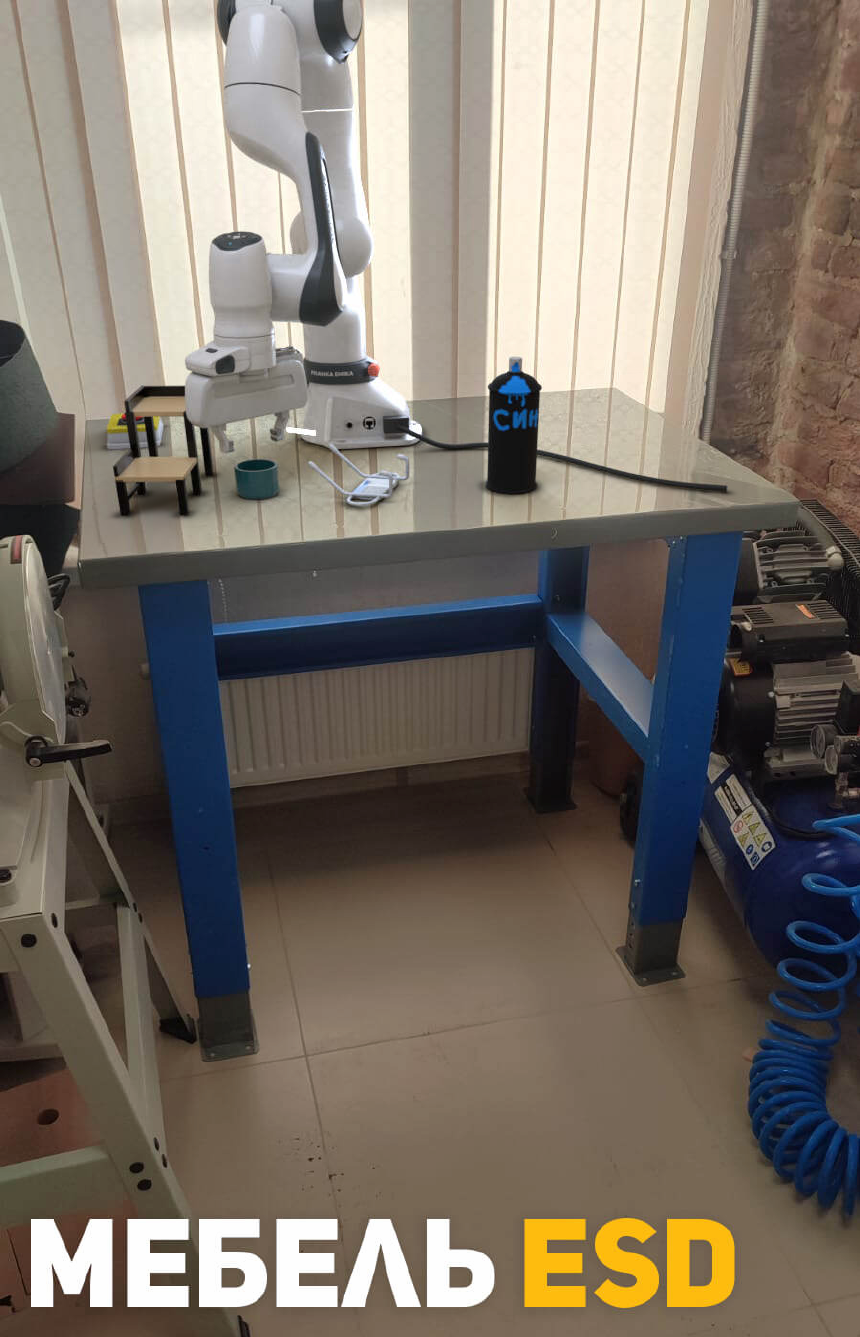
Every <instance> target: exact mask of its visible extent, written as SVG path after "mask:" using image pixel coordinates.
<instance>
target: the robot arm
mask: <svg viewBox="0 0 860 1337" xmlns="http://www.w3.org/2000/svg"><path fill="white" fill-rule="evenodd" d="M362 6H363V5H362V1H361V0H217V5H216V23H217V27H218V32H219V35H220V38H221V41H222V42H223V44H224V46H225V55H224V67H223V68H224V69H223V116H224V123H225V128H226V131H227V134H228V137H229V138H230V139H231V140H230V141H232V143H233V144H234V145H235V147H236V148H237V149H238V150H239V151H240V152H241V153H243V155H245V156H246V157H248V158H249V159H251V160H252V161H254V162H256V163H258V164H260V165H262V166H264V167H266V168H269V169H271V170H274V171H276V172H278V173H279V174H281V175H283V176H286V177H287V178H289V179H290V180H291V181H292V182H293V183H294V185H295V187H296V192H297V197H298V203H299V207H300V211H299V212H297V214H296V215H295V216H294V218H293V220H292V222H291V224H290V228H289V242H290V247H291V253H271V252H267V248H266V243H265V240H264V238H263V237H262V236H261V235H260V234H258V233H255V232H253V231H241V230H240V231H231V232H225V233H222V234H219V235H217V236H216V237H215V238H213V239H212V240H211V242H210V245H209V255H208V287H209V290H208V291H209V299H210V305H211V308H212V311H213V314H214V315H213V316H214V324H213V330H212V333H213V339H212V340H211V341H209V342H208V343H206V344H204V345H202V346H201V347H200V348H198V349H195V350H194V351H193V352H192V351H191V353H189V354H187V355H186V356H185V358H184V364H185V369H186V370H187V371H190V373H189V374H188V375H187V376H186V379H185V383H184V386H185V405H186V415H187V418H188V420H189V421H190V422H191V423H192V424H193V425H194V427H198V428H200V427H201V428H209V429H210V431H211V432H212V434H213V435H214V437H215V438H216V439H217V441H218V444H219V445H218V447H219V451H220V453H223V454H229V453H233V452H235V447H234V446H235V442H234V441H235V440H232V439H230V438H228V437H227V436H226V433H225V432H227V431H228V430H227V424H232V423H237V422H242V421H245V420H251V419H255V418H260V417H265V416H270V415H274V417H276V420H275V422H274V425H273V427H271V428H269V434H270V435H269V438H270V440H271V441H273V442H281V441H284V440H285V429H286V432H287V433H293V434H294V433H295V434H300V438H302V439H303V440H304V441H306V442H308V443H311V444H316V445H321V446H323V447H325V448H328V449H330V448H329V445H330V444H332V445H333V446H335V447H336V448H337V449H338V450H345V449H346V450H347V449H349V450H350V449H363V448H365V449H366V448H379V447H382V448H383V447H397V446H410V445H411V446H412V445H415V444H416V443H418V442H419V441H422V442H423V443H425V444H428V445H429V446H432V447H435V448H437V449H438V448H439V449H445V450H467V449H478V448H480V449H481V448H483V449H485V448H486V449H488V442H486V441H485V442H482V441H481V442H469V443H456V444H455V443H443V442H439V441H436V440H433V439H431V438H430V437H429V438H428V437H426V436H424V435H423V428H422V425H421V424H420V423H419V422H417V421H415V420H412V419H411V412H410V409H409V406H408V403H407V401H406V399H405V397H404V396H402V395H401V394H400V393H399V392H398V391H396V390H395V389H393V388H392V387H391V386H390V385H388V384H387V383H386V382H384V381H383V380H381V378H379V374H380V366H379V362H378V361H377V360H378V359H376V358H374V359H373V358H372V357H370V356H368V355H367V340H366V339H367V336H366V312H365V307H364V304H363V301H362V297H361V292H360V287H359V286H360V285H359V281H358V276H359V275H360V274H362V273H363V272H364V271H365V270H366V269H367V268H368V267H369V266H370V263H371V262H372V259H373V256H374V252H375V243H374V237H373V234H372V231H371V227H370V225H369V218H368V211H367V205H366V200H365V194H364V190H363V185H362V179H361V175H360V168H359V160H358V148H357V146H358V145H357V134H356V118H355V117H356V113H355V104H354V101H355V100H354V93H353V92H354V90H353V85H352V84H353V83H352V78H351V71H350V67H349V61H348V58H349V55H350V54H351V53H352V52H353V51H354V49H355V47H356V46H357V44H358V42H359V40H360V37H361V35H362V30H363V29H362V28H363V7H362ZM273 322H274V323H297V324H299V323H300V324H302V334H303V348H304V355H303V353H302V352H301V351H300V350H299V349H298V348H296V347H295V346H293V345H289V346H286V347H276V334H275V333H276V332H275V326H274V324H273ZM303 408H305V409H304V419H303V425H302V428H295V427H289V426H288V427H287V425H288V423H289V420H290V416H291V415H290V411H293V410H299V409H303ZM537 456H541V457H545V458H550V459H554V460H558V461H561V462H565V463H569V464H573V465H577V466H581V467H583V468H587V469H591V470H593V471H598V472H602V473H605V474H606V473H607V474H610V475H613V476H617V477H620V478H625V479H628V480H629V479H630V480H634V481H639V482H643V483H647V484H648V483H649V484H654V485H660V486H666V487H673V488H680V489H690V490H701V491H702V490H703V491H716V492H728V485H726V484H725V485H723V484H710V483H699V482H688V481H687V482H686V481H678V480H671V479H665V478H657V477H652V476H648V475H642V474H637V473H632V472H628V471H624V470H619V469H615V468H611V467H608V466H606V465H605V466H604V465H602V464H601V465H600V464H596V463H592V462H590V461H586V460H583V459H579V458H575V457H571V456H568V455H564V454H560V453H554V452H551V451H547V450H542V449H538V448H537Z"/></svg>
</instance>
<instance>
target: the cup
mask: <svg viewBox="0 0 860 1337" xmlns="http://www.w3.org/2000/svg"><path fill="white" fill-rule="evenodd" d="M233 470H234V481H235V490H236V493H237V494H238V495H239V496H240V497H241V498H242V499H245V500H253V501H255V500H256V501H259V500H266V499H270V498H273V497H275V496H276V495H277V494H278V492H280V490H281V489H280V488H281V487H280V477H279V476H280V475H279V463H278V462H276V461H275V460H272V459H268V458H253V459H245V460H242V461H239V462H237V463H235V464H234V466H233Z"/></svg>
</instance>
